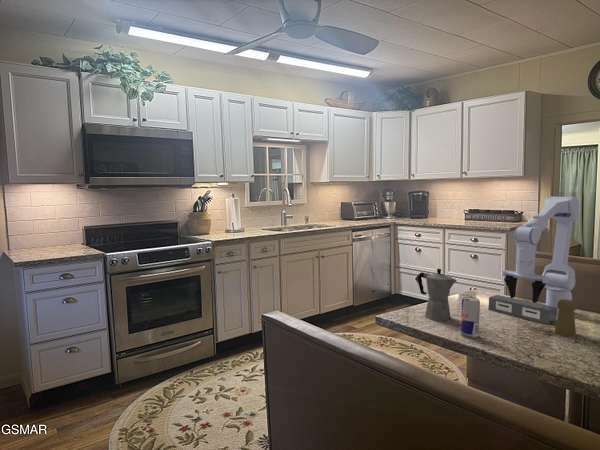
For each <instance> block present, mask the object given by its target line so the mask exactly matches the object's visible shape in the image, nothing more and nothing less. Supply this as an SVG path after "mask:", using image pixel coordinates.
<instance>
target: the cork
mask: <svg viewBox="0 0 600 450" xmlns="http://www.w3.org/2000/svg"><path fill="white" fill-rule="evenodd" d="M557 306H558V308H559V312H558V315H557V321H556V322H555V327H554V330H553V331H554V333H555V334H558V335H560V336H563V337H564V336H565V337H576V336H577V331H576V330H577V329H576V320H575V319H576V317H575V311H576V309H577V303H576V302H575V301H573V299H572V300H567V299H561V300H559V301H558V303H557Z"/></svg>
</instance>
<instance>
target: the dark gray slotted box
mask: <svg viewBox="0 0 600 450" xmlns="http://www.w3.org/2000/svg"><path fill="white" fill-rule="evenodd" d="M488 311H491V312H495V313H496V312H497V313H500V314H505V315H509V316H512V317H517V318H520V319H525V320H529V321H532V322H537V323H540V324H545V325H551V324H553V323H556V321H557V317H558V315H557V307H552V306H547V305H546V304H542V303H538V302H536V303H533V301H527V300H524V299H519V298H516V297H514V298H510V297H509V296H504V295H499V294H496V295H491V296H488Z"/></svg>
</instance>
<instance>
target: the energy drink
mask: <svg viewBox="0 0 600 450" xmlns="http://www.w3.org/2000/svg"><path fill="white" fill-rule="evenodd" d="M480 307H481V302H480V298H477V297H474V296H473V297H472V296H465V297H462V299H461V313H460V314H461V315H460V316H461V318H460V320H461V321H460V335H461V336H462V337H464V338H468V339H477V338H478V337H479V335H480V309H481V308H480Z"/></svg>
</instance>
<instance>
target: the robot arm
mask: <svg viewBox="0 0 600 450" xmlns="http://www.w3.org/2000/svg"><path fill="white" fill-rule="evenodd" d="M543 203H544V205H543V207H542V209H541V211H540V212H539V213H538V214H533V215H532V216H531V217H530V219H529V220H527V221H526V223H525V224H524V225H523V226H522V225H521V226H519V227H516V228H515V230H514V233H513V239H514V244H515V245H514V246H515V248H516V255H515V256H516V258H515V271H514V270H507V269H506V270H505V269H504V270H502V276H503V277H504V278H503V281H504V283H505V284H506V286H507V290H508V293H509V296H510V298H516V291H517V290H516V289H517V283H518V279H522V280H526V281H530V282H531V287H532V302H533V303H538V301H539V298H540V295H541V293H542V291H543V289H544V288H545V289H546V296H545V305H547V306H552V307H557V316H558V312H559V308H558V306H557V303H558V301H559V300H561V299H567V300H572V301H573V294H572V290H573V289H574V288H575V285H576V271H575V270H574V269H573V267H571V266H570V265H569V264H568V263H569V255H570V248H571V239H572V231H573V224H574V221H575V220H578V217H579V212H580V202H579V199H578V198H577V197H576V196H550V195H549V196H547V197H546V198H545V199H544V202H543ZM551 219H553V220H555V221H556V230H555V231H556V232H555V236H554V237H555V239H554V246H553V253H552V261H551V263H549V264H547V265H546V266H544V269H543V272H542V275H540V274H536V272H535V267H536V250H537V249H536V248H537V246H536V245H537V244H538V243H539V241H540V238H541V236H542V232H544V231H545V229H546V228H547V227H548V226H549V220H551Z"/></svg>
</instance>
